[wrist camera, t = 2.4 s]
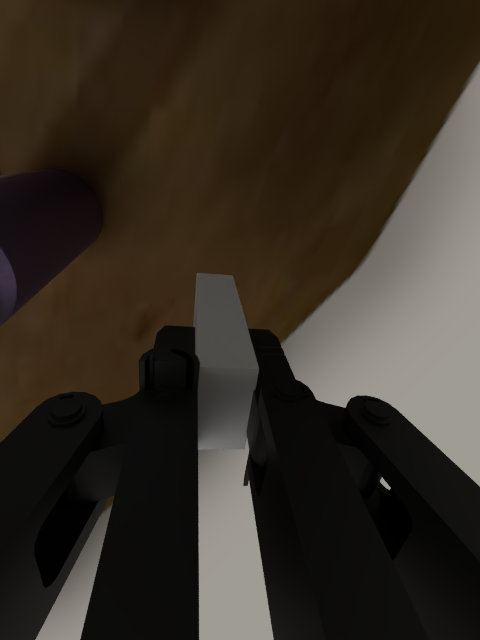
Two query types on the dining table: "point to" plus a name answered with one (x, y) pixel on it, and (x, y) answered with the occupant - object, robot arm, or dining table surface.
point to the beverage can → (41, 231)
